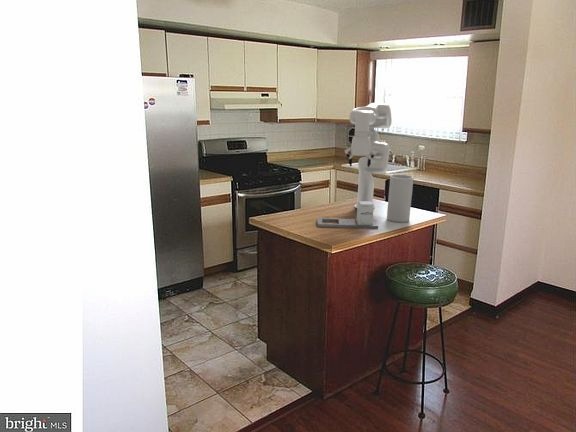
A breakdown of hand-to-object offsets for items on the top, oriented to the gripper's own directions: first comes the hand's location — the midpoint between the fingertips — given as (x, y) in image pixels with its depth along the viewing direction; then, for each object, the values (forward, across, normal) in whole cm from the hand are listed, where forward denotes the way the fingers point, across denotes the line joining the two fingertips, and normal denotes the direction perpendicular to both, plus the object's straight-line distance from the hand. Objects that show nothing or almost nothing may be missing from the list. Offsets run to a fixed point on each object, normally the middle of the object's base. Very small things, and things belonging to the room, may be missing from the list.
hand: (359, 166), depth 252 cm
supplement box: (+30, -3, +12) cm, 33 cm away
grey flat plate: (+30, +6, +12) cm, 33 cm away
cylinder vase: (+31, -24, -2) cm, 39 cm away
